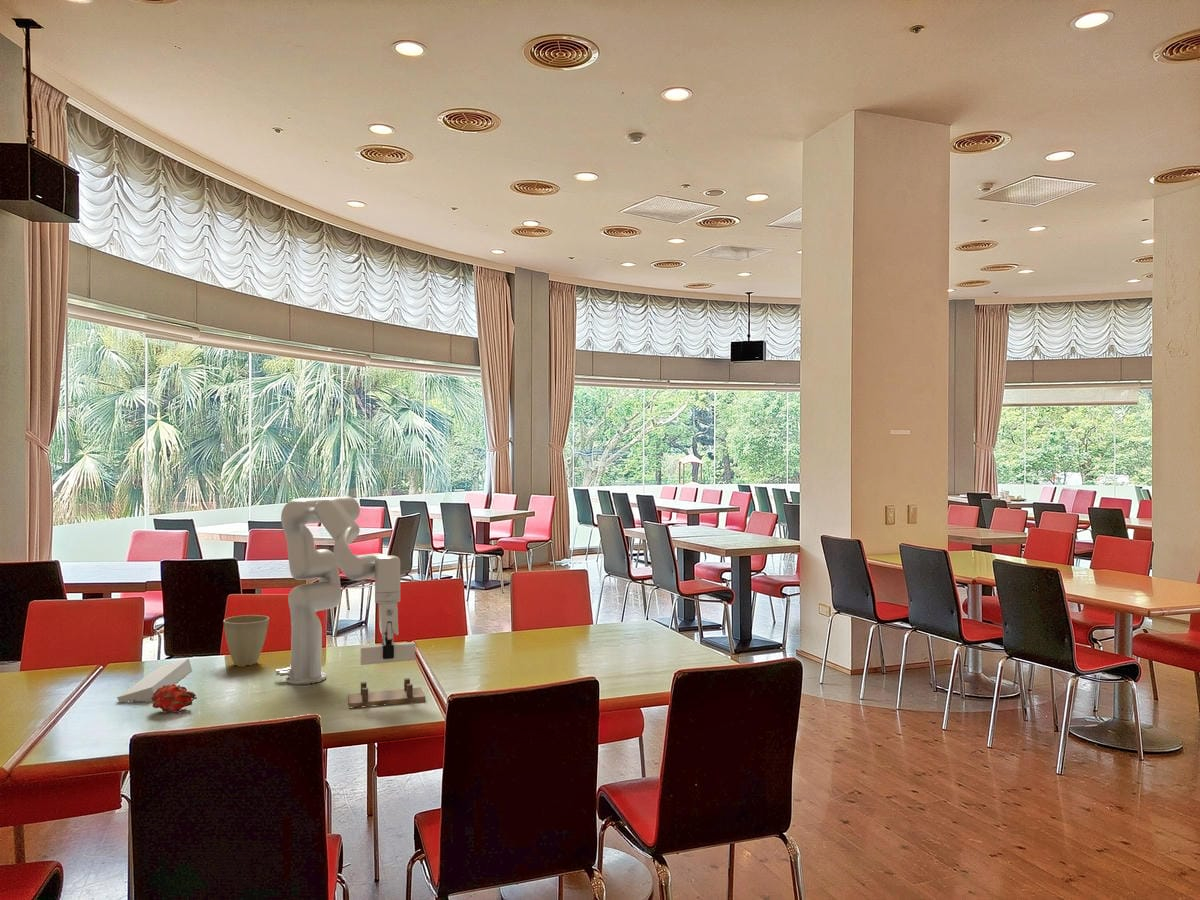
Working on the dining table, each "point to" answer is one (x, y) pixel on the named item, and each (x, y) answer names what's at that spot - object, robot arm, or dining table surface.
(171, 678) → the white wedge ramp
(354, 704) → the plank with four pegs
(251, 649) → the plant pot
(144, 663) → the dining table surface
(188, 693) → the dragon fruit
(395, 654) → the clay strip
